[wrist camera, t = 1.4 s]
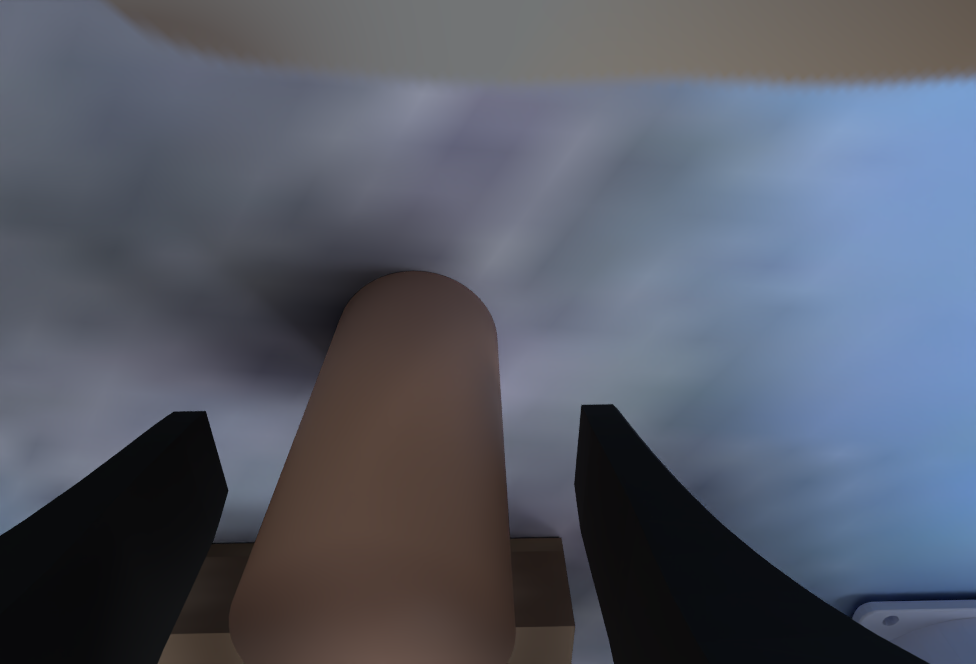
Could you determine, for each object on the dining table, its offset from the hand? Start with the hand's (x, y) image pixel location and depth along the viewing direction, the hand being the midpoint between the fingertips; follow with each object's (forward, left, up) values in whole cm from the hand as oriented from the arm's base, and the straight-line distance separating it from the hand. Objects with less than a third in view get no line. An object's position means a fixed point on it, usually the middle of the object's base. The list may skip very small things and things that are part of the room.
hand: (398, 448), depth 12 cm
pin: (0, 0, -4) cm, 4 cm away
